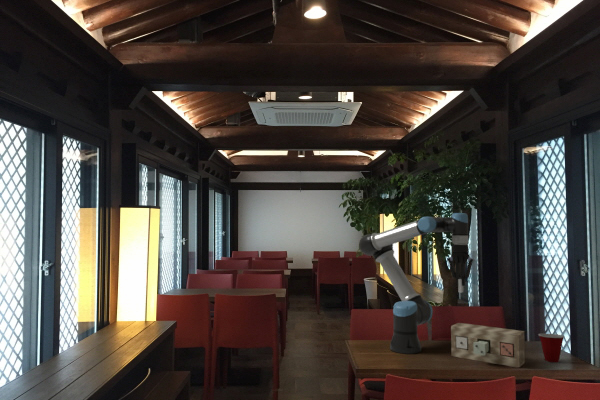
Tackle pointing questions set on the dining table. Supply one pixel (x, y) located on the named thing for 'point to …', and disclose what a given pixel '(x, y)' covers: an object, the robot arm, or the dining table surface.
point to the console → (494, 338)
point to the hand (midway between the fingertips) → (460, 292)
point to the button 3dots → (507, 349)
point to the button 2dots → (481, 347)
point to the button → (462, 342)
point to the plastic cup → (551, 346)
